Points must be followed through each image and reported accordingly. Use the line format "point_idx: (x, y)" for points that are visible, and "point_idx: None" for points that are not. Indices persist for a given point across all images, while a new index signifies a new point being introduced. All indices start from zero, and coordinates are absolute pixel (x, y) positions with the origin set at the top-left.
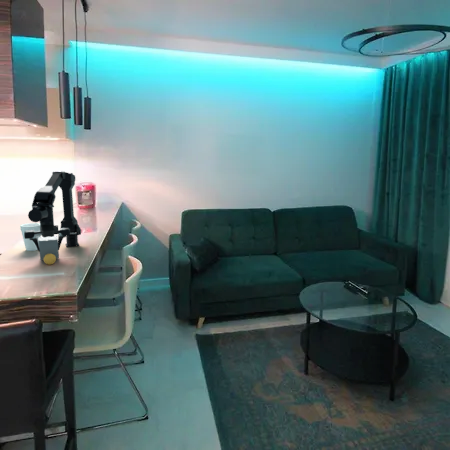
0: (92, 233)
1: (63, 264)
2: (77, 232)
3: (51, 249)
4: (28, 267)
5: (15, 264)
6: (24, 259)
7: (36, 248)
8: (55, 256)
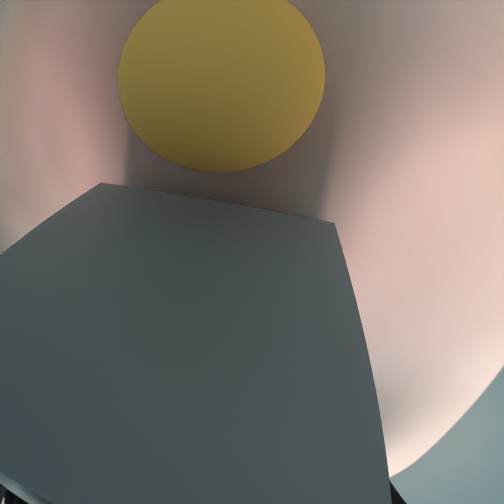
0: None
1: (103, 10)
2: None
3: (113, 270)
4: (478, 118)
5: (500, 295)
6: (392, 384)
7: None
8: (125, 197)
